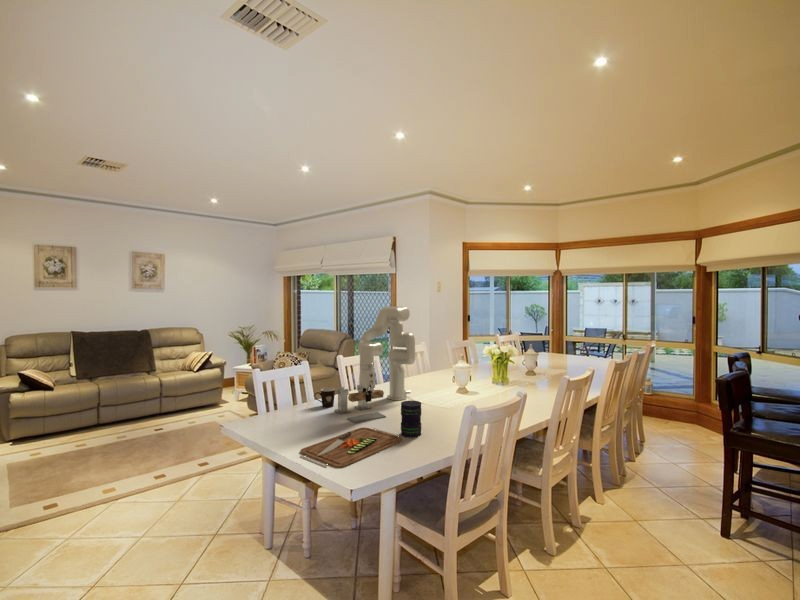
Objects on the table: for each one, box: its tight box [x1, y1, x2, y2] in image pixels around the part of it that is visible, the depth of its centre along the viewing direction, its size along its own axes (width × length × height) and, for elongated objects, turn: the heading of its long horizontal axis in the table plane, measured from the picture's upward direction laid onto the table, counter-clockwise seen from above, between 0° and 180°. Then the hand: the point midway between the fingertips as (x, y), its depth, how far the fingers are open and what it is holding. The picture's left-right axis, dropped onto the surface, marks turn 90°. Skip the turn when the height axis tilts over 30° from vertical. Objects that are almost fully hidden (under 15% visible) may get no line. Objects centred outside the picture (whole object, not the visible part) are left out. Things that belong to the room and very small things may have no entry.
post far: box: [354, 384, 372, 411], centre depth 240 cm, size 7×7×13 cm
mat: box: [346, 411, 387, 424], centre depth 221 cm, size 19×9×1 cm, turn 124°
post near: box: [334, 386, 352, 415], centre depth 232 cm, size 7×7×13 cm
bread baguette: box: [347, 389, 385, 403], centre depth 220 cm, size 20×4×4 cm, turn 124°
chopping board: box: [299, 427, 404, 469], centre depth 180 cm, size 45×27×3 cm, turn 141°
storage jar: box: [400, 400, 422, 439], centre depth 195 cm, size 10×10×15 cm
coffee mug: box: [313, 387, 336, 409], centre depth 244 cm, size 12×9×10 cm
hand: (366, 400), depth 220 cm, fingers closed on bread baguette, 3 cm apart
